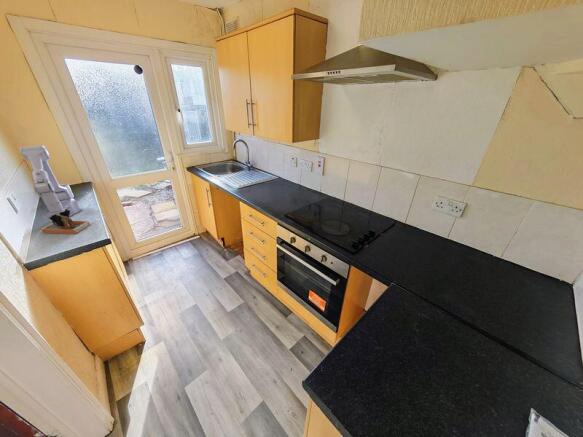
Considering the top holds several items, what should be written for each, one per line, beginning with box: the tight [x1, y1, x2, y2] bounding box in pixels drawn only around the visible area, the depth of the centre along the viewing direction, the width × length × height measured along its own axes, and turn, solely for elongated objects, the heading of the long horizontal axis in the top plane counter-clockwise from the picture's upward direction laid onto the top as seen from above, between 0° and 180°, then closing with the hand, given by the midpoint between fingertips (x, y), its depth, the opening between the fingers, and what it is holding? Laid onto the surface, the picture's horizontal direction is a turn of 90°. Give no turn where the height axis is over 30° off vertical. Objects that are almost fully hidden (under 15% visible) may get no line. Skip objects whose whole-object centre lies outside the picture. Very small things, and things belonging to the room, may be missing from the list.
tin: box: [51, 214, 76, 230], centre depth 131 cm, size 15×3×8 cm, turn 72°
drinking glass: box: [59, 183, 75, 199], centre depth 168 cm, size 7×7×10 cm
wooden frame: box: [40, 220, 91, 235], centre depth 133 cm, size 10×19×2 cm, turn 88°
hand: (64, 224), depth 132 cm, fingers open, 4 cm apart
